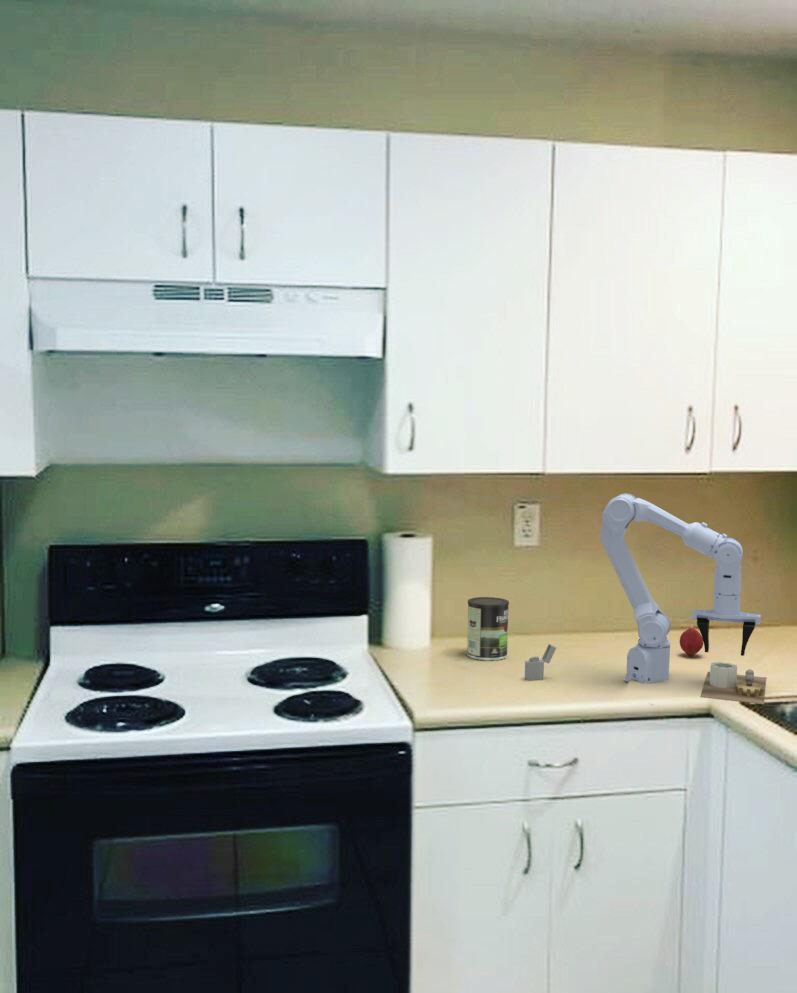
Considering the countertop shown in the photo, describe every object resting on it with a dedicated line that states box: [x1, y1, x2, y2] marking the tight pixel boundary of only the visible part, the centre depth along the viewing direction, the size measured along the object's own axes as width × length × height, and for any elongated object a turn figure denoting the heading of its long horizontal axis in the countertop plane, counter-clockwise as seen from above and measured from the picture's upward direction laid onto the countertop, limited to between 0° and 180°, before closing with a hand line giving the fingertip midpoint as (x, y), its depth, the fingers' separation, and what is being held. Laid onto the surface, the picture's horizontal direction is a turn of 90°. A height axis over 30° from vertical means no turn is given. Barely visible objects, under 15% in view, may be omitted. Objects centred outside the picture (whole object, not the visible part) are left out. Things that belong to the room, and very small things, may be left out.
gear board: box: [699, 668, 767, 705], centre depth 228 cm, size 22×13×4 cm, turn 159°
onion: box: [679, 624, 704, 657], centre depth 259 cm, size 6×6×8 cm
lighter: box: [524, 643, 557, 682], centre depth 237 cm, size 7×2×8 cm, turn 105°
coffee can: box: [466, 596, 510, 662], centre depth 257 cm, size 10×10×14 cm
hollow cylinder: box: [709, 661, 738, 688], centre depth 230 cm, size 6×6×4 cm
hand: (724, 653), depth 229 cm, fingers open, 7 cm apart
